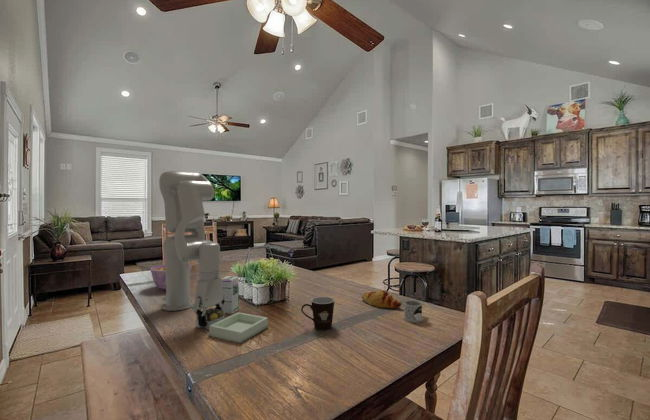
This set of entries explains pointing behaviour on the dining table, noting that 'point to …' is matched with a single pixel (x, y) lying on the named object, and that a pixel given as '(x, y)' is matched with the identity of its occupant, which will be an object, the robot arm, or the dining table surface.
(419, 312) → the mug
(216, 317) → the ball
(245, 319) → the tray
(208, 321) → the open shelf cabinet
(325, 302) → the coffee mug
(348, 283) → the dining table surface
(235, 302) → the syrup box
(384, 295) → the croissant
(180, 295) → the robot arm
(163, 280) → the bowl of food
